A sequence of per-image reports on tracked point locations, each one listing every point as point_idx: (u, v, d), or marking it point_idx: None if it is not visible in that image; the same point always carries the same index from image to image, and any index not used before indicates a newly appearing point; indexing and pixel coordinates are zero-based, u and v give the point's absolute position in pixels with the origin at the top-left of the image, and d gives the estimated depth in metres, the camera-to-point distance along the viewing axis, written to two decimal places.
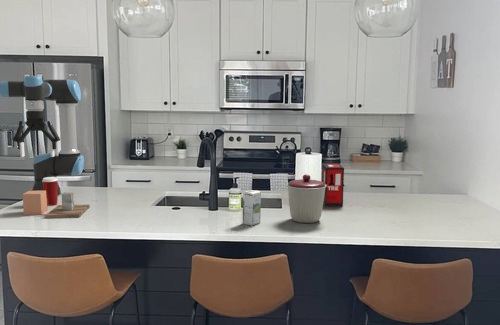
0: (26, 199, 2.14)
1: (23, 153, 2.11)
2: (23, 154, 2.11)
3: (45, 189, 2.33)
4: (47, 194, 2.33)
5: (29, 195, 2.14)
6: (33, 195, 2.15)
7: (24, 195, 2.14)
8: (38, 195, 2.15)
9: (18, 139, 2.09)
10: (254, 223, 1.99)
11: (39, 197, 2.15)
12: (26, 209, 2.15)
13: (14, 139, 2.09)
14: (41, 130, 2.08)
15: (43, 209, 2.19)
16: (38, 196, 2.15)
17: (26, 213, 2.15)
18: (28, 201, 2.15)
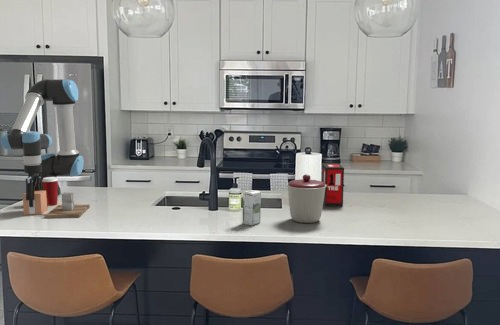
0: None
1: None
2: None
3: (45, 189, 2.33)
4: (47, 194, 2.33)
5: None
6: None
7: (24, 195, 2.14)
8: (38, 195, 2.15)
9: None
10: (254, 223, 1.99)
11: (39, 197, 2.15)
12: (26, 209, 2.15)
13: None
14: None
15: (43, 209, 2.19)
16: (38, 196, 2.15)
17: (26, 213, 2.15)
18: None
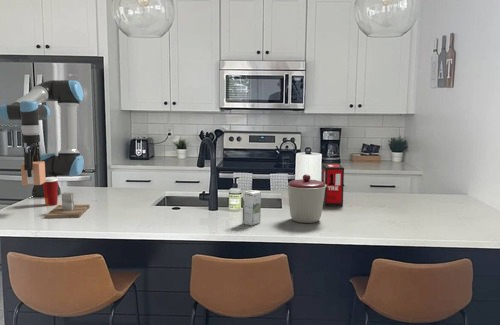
0: None
1: None
2: None
3: (45, 189, 2.33)
4: (47, 194, 2.33)
5: None
6: None
7: (22, 165, 2.12)
8: (36, 165, 2.13)
9: None
10: (254, 223, 1.99)
11: (37, 167, 2.13)
12: (24, 179, 2.13)
13: None
14: None
15: (41, 180, 2.17)
16: (36, 166, 2.13)
17: (24, 183, 2.14)
18: None
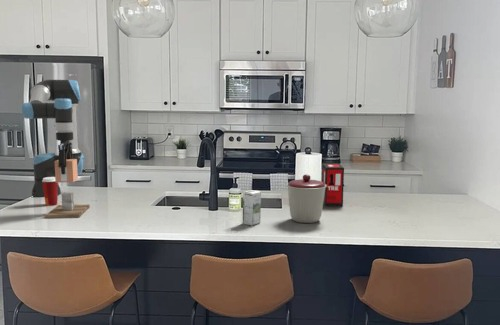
0: None
1: None
2: None
3: (45, 189, 2.33)
4: (47, 194, 2.33)
5: None
6: None
7: (56, 162, 2.13)
8: (70, 162, 2.13)
9: None
10: (254, 223, 1.99)
11: (71, 164, 2.13)
12: (58, 176, 2.13)
13: None
14: None
15: (74, 177, 2.17)
16: (70, 163, 2.13)
17: (58, 180, 2.14)
18: None
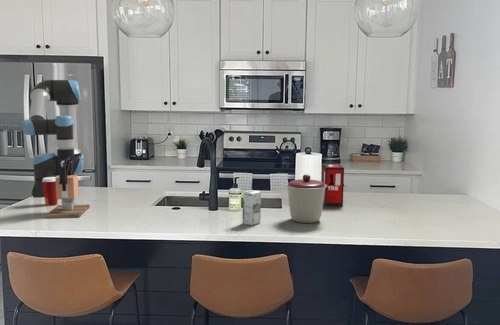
0: None
1: None
2: None
3: (45, 189, 2.33)
4: (47, 194, 2.33)
5: None
6: None
7: (57, 179, 2.14)
8: (71, 179, 2.14)
9: None
10: (254, 223, 1.99)
11: (72, 181, 2.15)
12: (59, 193, 2.15)
13: None
14: None
15: (75, 193, 2.18)
16: (71, 180, 2.14)
17: (59, 197, 2.15)
18: None
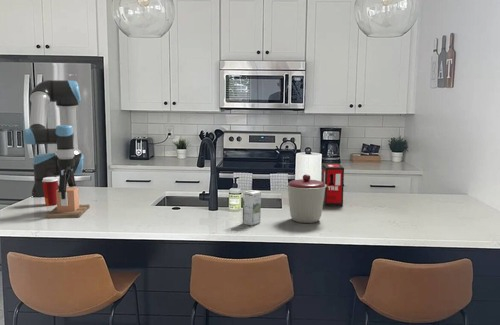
0: (60, 195, 2.15)
1: None
2: None
3: (45, 189, 2.33)
4: (47, 194, 2.33)
5: None
6: None
7: (58, 192, 2.15)
8: (71, 192, 2.15)
9: None
10: (254, 223, 1.99)
11: (72, 194, 2.16)
12: (59, 206, 2.16)
13: None
14: None
15: (76, 206, 2.19)
16: (71, 193, 2.15)
17: (59, 210, 2.16)
18: None
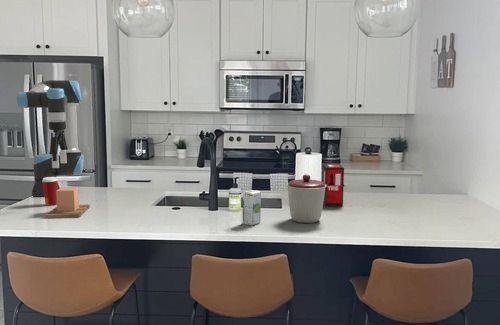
0: (60, 195, 2.15)
1: (63, 160, 2.27)
2: (63, 161, 2.27)
3: (45, 189, 2.33)
4: (47, 194, 2.33)
5: (63, 192, 2.15)
6: (66, 192, 2.15)
7: (58, 192, 2.15)
8: (71, 192, 2.15)
9: None
10: (254, 223, 1.99)
11: (72, 194, 2.16)
12: (59, 206, 2.16)
13: None
14: None
15: (76, 206, 2.19)
16: (71, 193, 2.15)
17: (59, 210, 2.16)
18: (62, 197, 2.15)
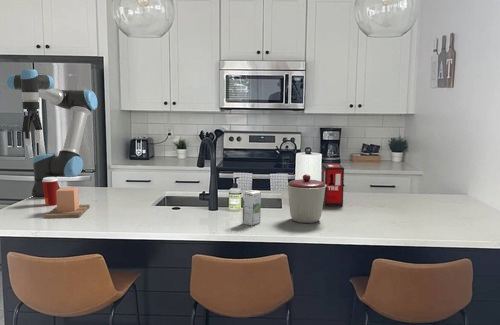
0: (60, 195, 2.15)
1: (38, 140, 2.35)
2: (38, 140, 2.35)
3: (45, 189, 2.33)
4: (47, 194, 2.33)
5: (63, 192, 2.15)
6: (66, 192, 2.15)
7: (58, 192, 2.15)
8: (71, 192, 2.15)
9: None
10: (254, 223, 1.99)
11: (72, 194, 2.16)
12: (59, 206, 2.16)
13: None
14: None
15: (76, 206, 2.19)
16: (71, 193, 2.15)
17: (59, 210, 2.16)
18: (62, 197, 2.15)
